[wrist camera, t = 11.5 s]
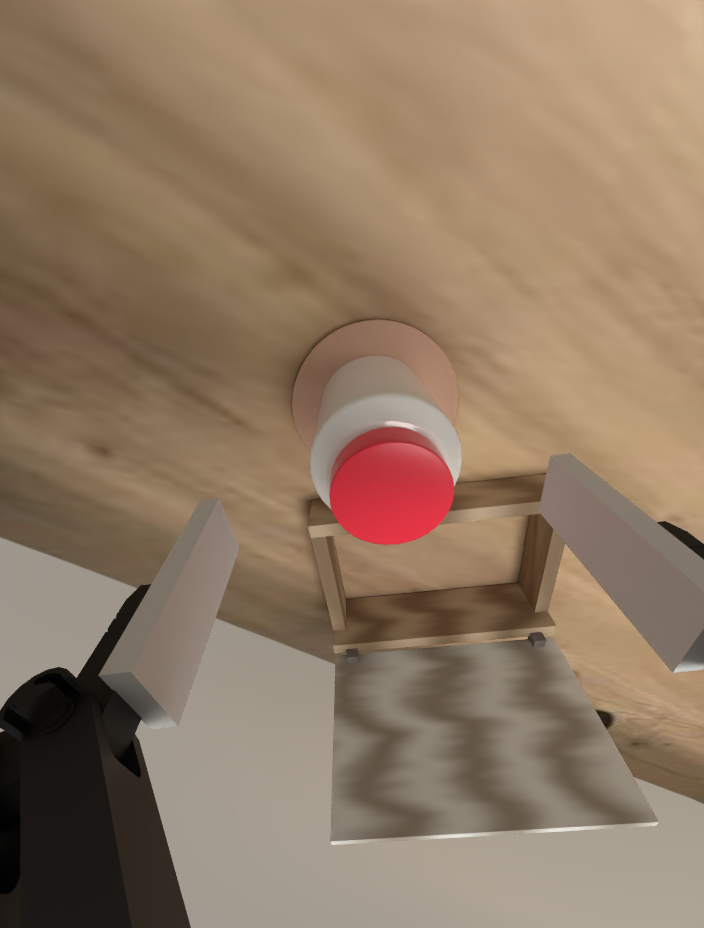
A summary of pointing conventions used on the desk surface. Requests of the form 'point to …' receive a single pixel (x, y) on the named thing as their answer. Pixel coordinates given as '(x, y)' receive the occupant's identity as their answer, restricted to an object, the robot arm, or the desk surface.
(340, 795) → the frame
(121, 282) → the desk surface
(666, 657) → the robot arm
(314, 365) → the saucer
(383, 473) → the pill bottle
